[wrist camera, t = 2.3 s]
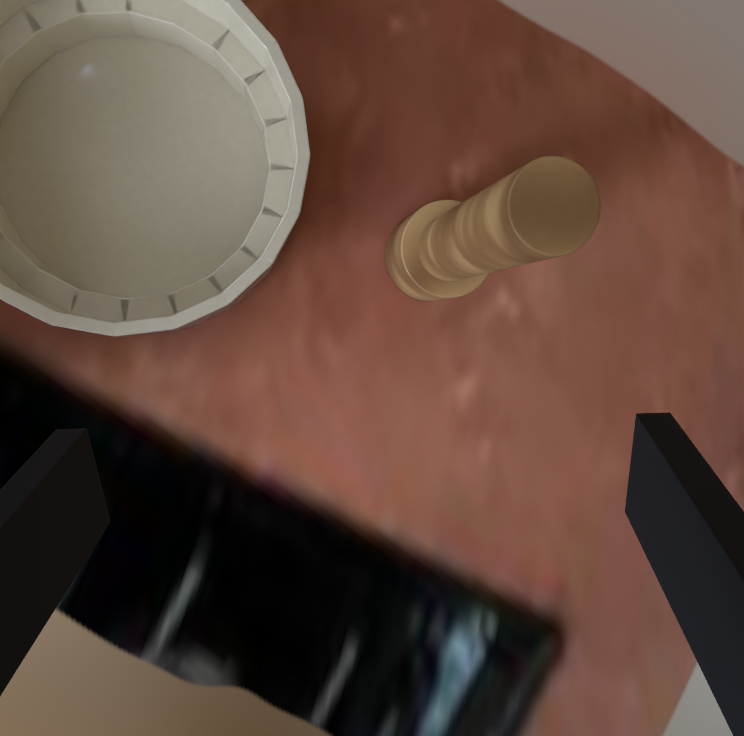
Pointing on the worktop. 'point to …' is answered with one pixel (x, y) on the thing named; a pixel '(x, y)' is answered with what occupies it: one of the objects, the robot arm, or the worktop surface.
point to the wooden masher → (494, 229)
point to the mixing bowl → (143, 160)
